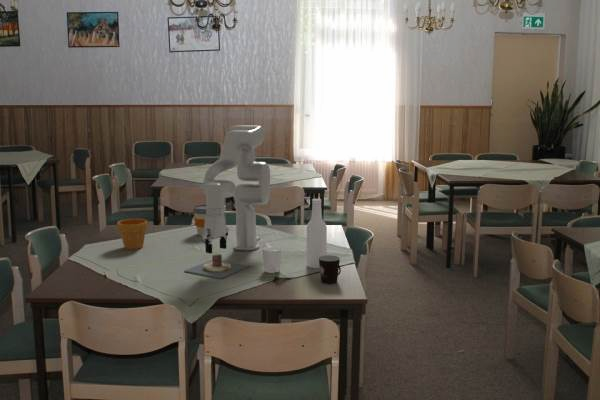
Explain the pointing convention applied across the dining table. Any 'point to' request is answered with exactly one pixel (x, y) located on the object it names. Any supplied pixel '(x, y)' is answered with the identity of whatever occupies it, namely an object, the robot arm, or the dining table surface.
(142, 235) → the flower pot
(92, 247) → the dining table surface
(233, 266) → the mat
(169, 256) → the dining table surface
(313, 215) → the alcohol
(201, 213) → the reusable coffee cup
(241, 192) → the robot arm
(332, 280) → the coffee mug
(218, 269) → the lid
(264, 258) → the white cup
